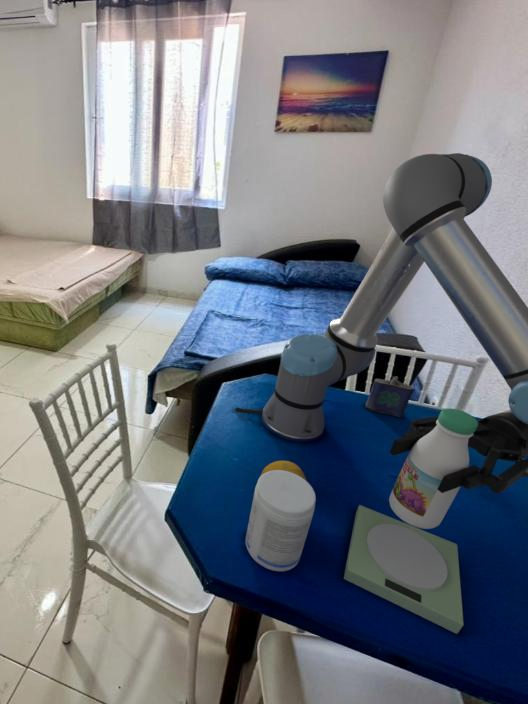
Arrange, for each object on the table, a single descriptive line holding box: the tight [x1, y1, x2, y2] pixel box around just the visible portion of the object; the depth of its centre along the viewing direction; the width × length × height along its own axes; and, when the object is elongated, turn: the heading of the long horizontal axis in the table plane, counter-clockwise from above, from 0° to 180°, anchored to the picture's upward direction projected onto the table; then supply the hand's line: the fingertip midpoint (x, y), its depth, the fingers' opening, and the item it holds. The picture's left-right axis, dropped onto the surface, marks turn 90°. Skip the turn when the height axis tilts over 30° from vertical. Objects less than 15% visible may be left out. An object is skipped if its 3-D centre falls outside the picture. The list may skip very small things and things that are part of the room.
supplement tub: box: [245, 470, 317, 572], centre depth 69 cm, size 10×10×15 cm
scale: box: [343, 504, 465, 635], centre depth 70 cm, size 16×16×3 cm
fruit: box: [260, 460, 307, 481], centre depth 82 cm, size 9×8×8 cm
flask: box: [365, 375, 414, 418], centre depth 109 cm, size 9×3×11 cm, turn 65°
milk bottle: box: [388, 407, 479, 530], centre depth 64 cm, size 8×8×20 cm
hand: (417, 465), depth 61 cm, fingers closed on milk bottle, 7 cm apart
